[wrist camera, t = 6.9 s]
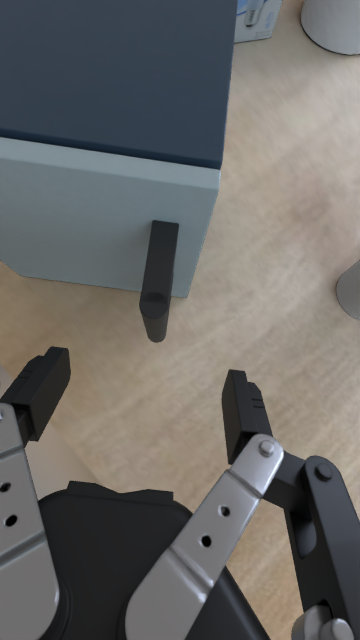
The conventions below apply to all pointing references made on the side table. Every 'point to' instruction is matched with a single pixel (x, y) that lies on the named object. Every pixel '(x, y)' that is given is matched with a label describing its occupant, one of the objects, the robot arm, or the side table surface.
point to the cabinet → (119, 76)
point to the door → (105, 221)
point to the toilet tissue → (333, 24)
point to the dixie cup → (350, 291)
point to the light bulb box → (256, 19)
